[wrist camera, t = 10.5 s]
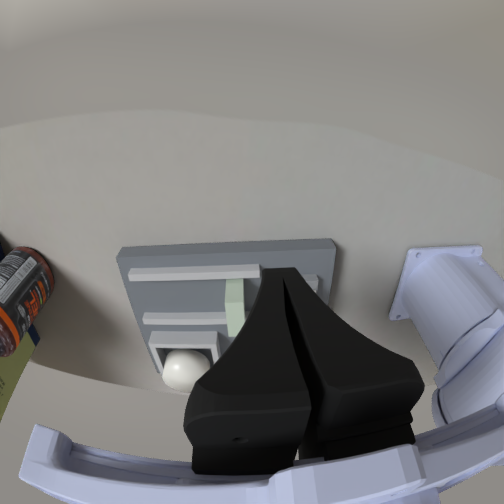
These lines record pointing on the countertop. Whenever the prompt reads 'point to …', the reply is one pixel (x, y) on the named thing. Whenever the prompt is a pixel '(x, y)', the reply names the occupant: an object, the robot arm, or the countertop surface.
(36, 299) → the supplement bottle
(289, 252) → the switch panel
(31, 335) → the protein box
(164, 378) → the white button
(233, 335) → the sage paddle
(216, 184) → the countertop surface
